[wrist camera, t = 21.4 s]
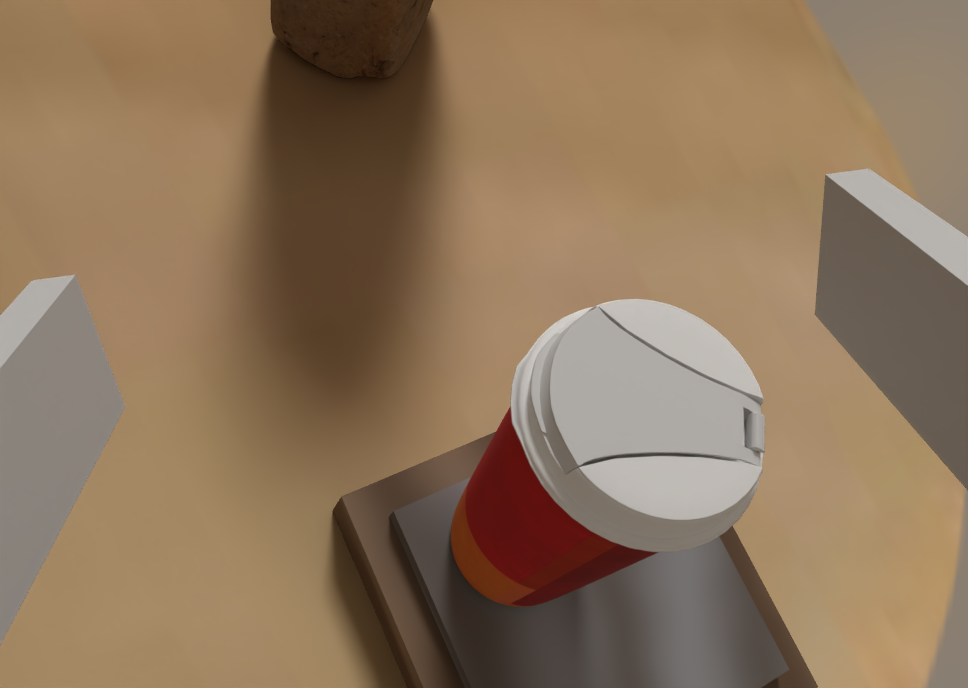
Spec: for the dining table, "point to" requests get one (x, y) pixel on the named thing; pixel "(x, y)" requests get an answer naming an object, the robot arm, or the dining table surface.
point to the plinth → (558, 605)
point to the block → (350, 33)
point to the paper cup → (610, 453)
